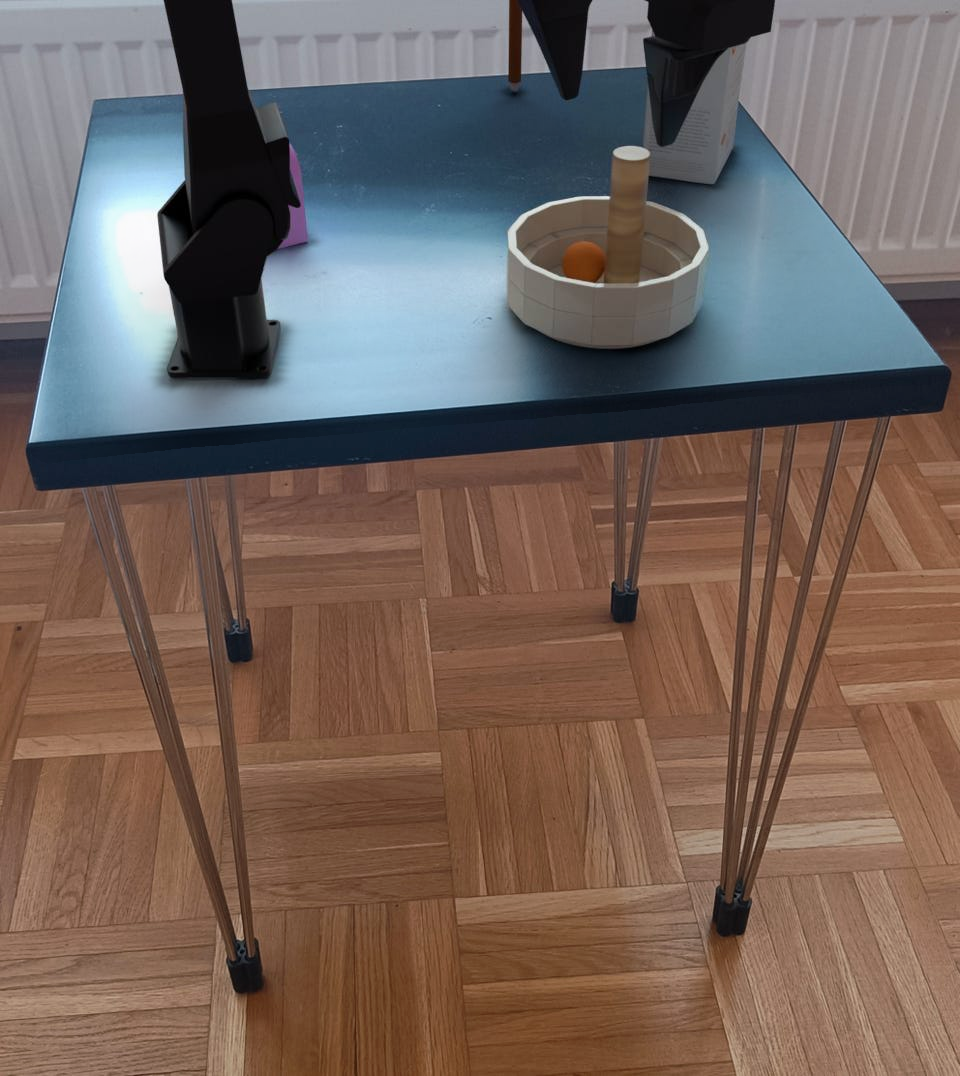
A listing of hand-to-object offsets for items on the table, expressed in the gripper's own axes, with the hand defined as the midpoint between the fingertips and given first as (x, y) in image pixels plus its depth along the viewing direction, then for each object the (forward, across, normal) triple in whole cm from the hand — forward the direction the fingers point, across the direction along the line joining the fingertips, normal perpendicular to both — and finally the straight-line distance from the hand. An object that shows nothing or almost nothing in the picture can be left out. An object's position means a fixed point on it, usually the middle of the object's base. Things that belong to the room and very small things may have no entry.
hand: (615, 120), depth 77 cm
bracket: (+13, +27, +14) cm, 33 cm away
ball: (+11, +2, 0) cm, 11 cm away
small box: (+13, +15, -21) cm, 29 cm away
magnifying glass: (+13, +36, -19) cm, 42 cm away
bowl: (+13, 0, 0) cm, 13 cm away
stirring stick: (+12, 0, -1) cm, 12 cm away
